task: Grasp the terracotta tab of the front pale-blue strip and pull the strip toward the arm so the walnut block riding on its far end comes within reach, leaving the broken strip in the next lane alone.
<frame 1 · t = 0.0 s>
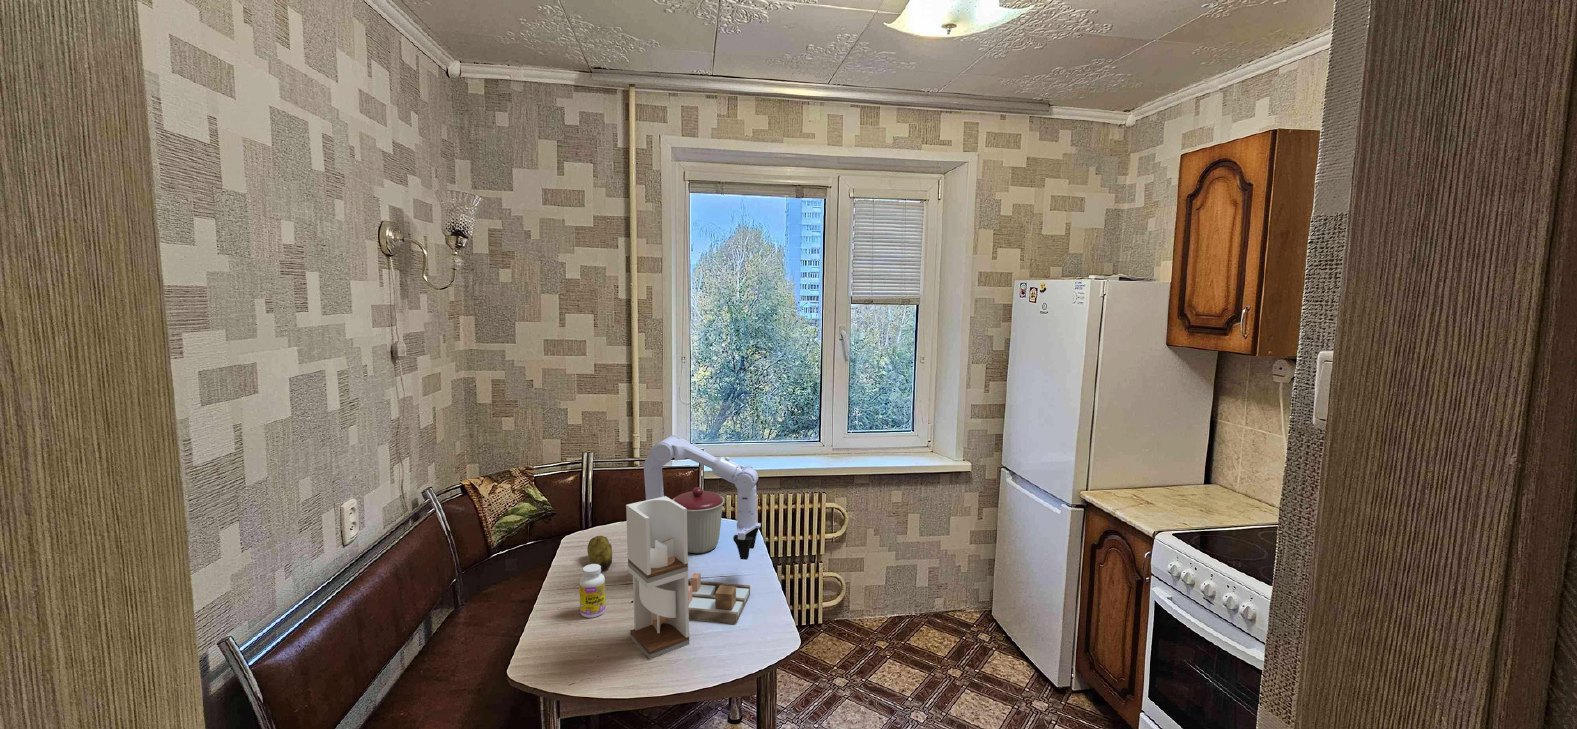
hand: (747, 553, 182), 10 cm above the table, fingers open, 7 cm apart
canister: (698, 547, 210), on the table
potato: (600, 564, 197), on the table
supplement bottle: (593, 613, 168), on the table
white tiered stand: (659, 641, 154), on the table
broken strip: (719, 599, 175), resting on lane board
walnut block: (725, 605, 167), point 2 cm above the table, touching strip front
lane board: (705, 605, 172), on the table
strip front: (711, 613, 168), resting on lane board, slide at 0.0 cm, touching walnut block
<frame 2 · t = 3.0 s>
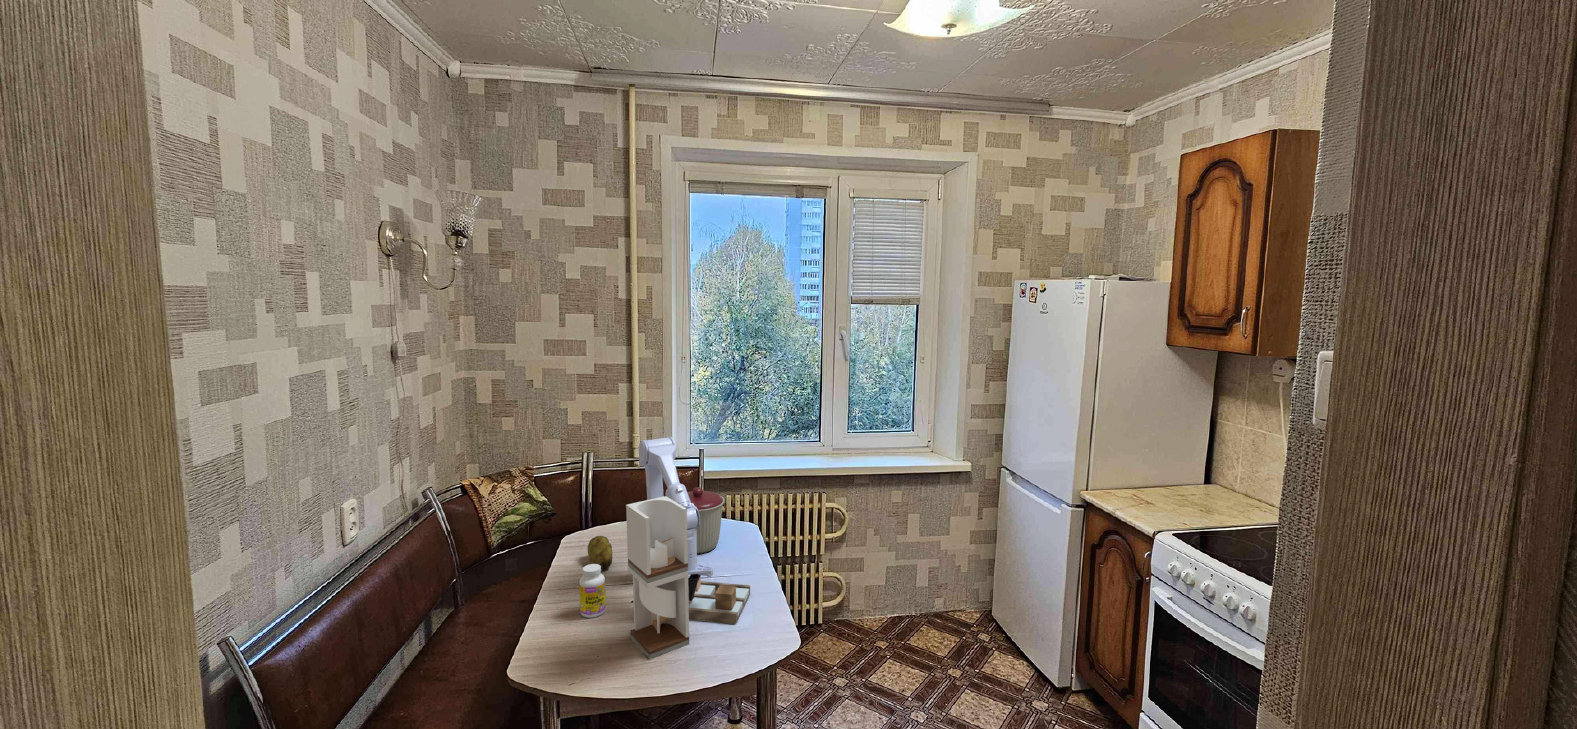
hand: (687, 599, 168), 3 cm above the table, fingers closed on strip front, 2 cm apart
strip front: (711, 613, 168), resting on lane board, slide at 0.0 cm, touching gripper, walnut block
everything else where it was.
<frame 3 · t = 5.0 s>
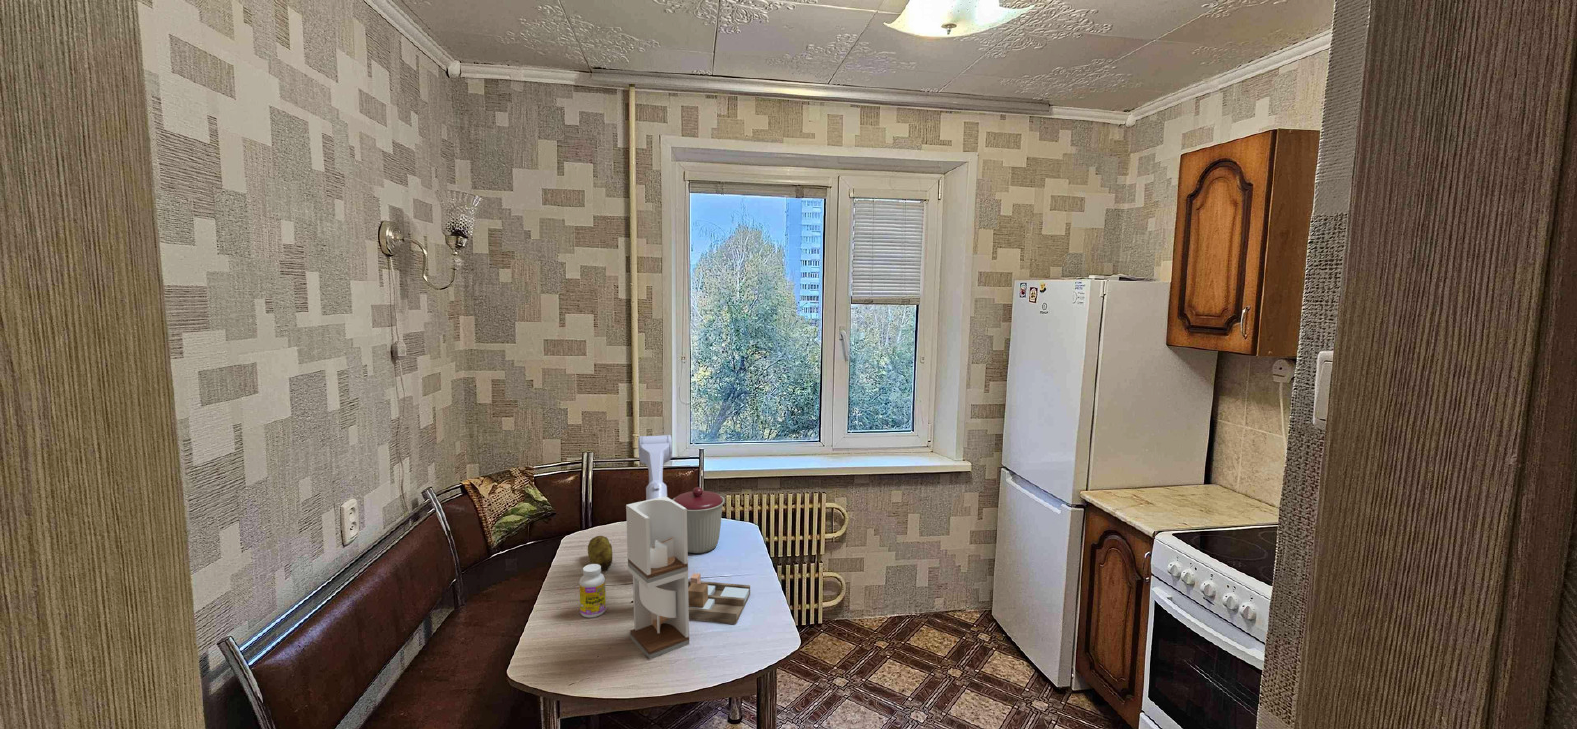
hand: (659, 596, 170), 3 cm above the table, fingers closed on strip front, 2 cm apart
walnut block: (697, 603, 168), point 2 cm above the table, touching strip front
strip front: (683, 610, 169), resting on lane board, slide at 8.0 cm, touching gripper, walnut block
everything else where it was.
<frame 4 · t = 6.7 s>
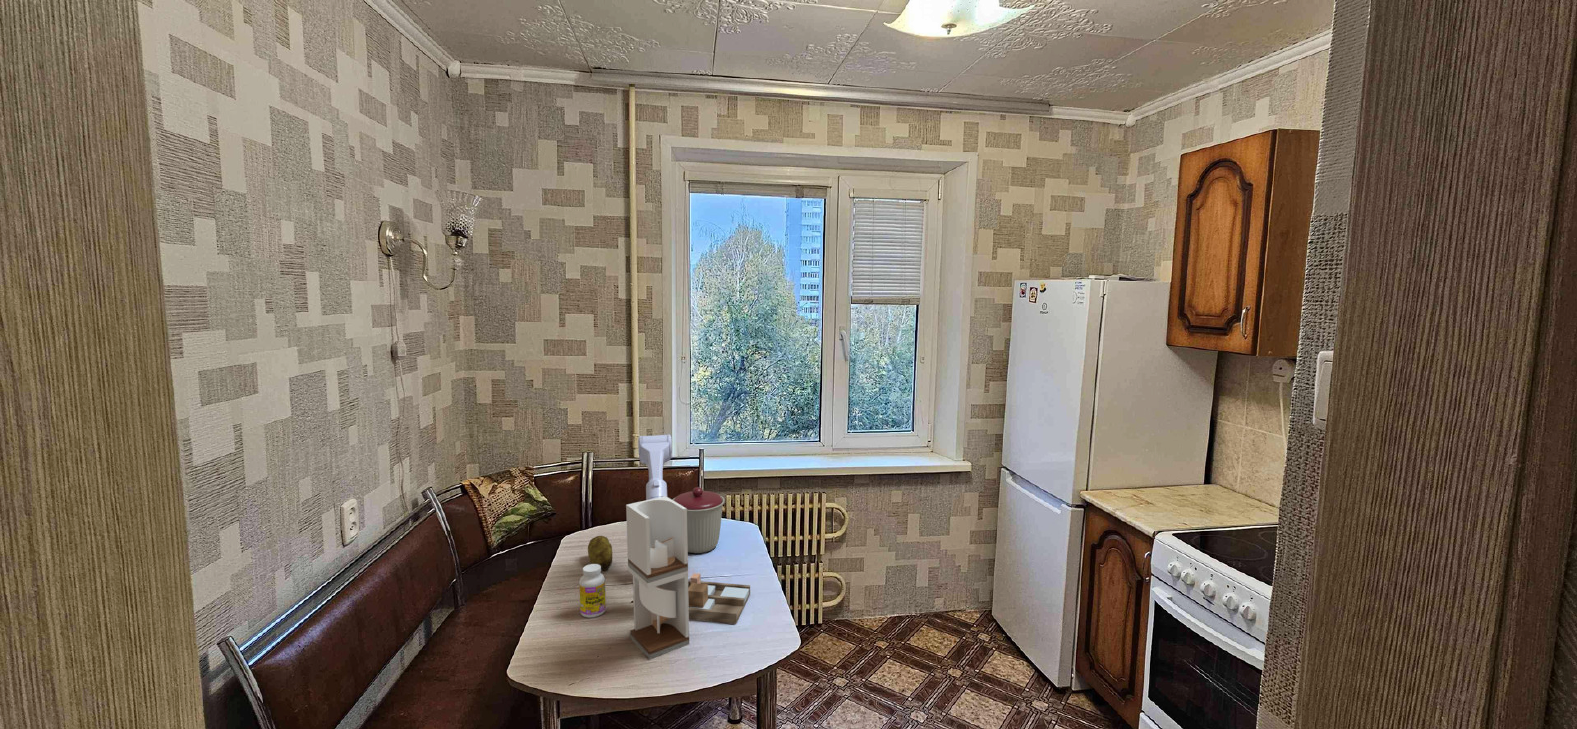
hand: (659, 593, 170), 4 cm above the table, fingers open, 7 cm apart
strip front: (683, 610, 169), resting on lane board, slide at 8.0 cm, touching walnut block
everything else where it was.
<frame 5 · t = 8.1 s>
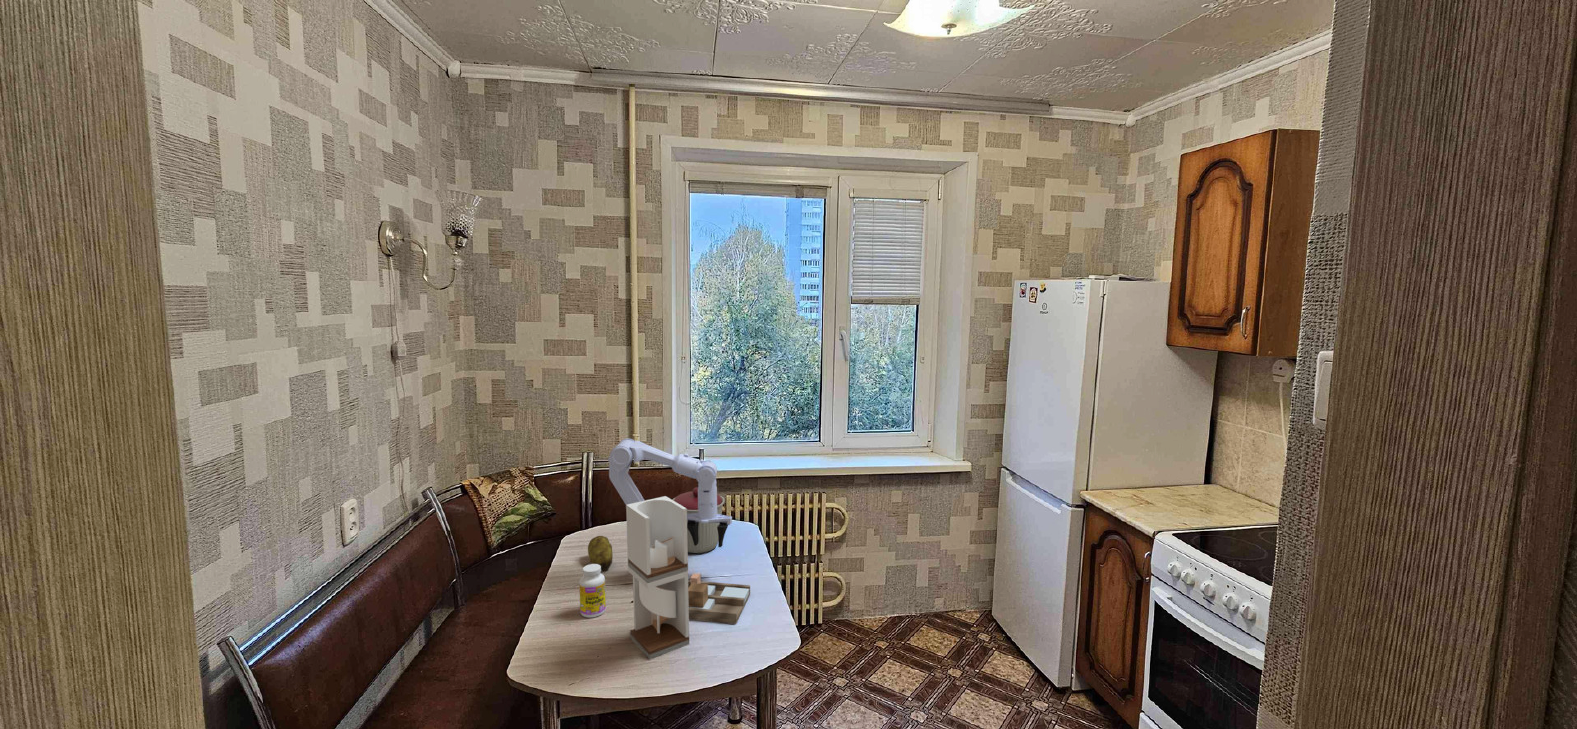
hand: (708, 545, 187), 10 cm above the table, fingers open, 7 cm apart
nothing on the table moved.
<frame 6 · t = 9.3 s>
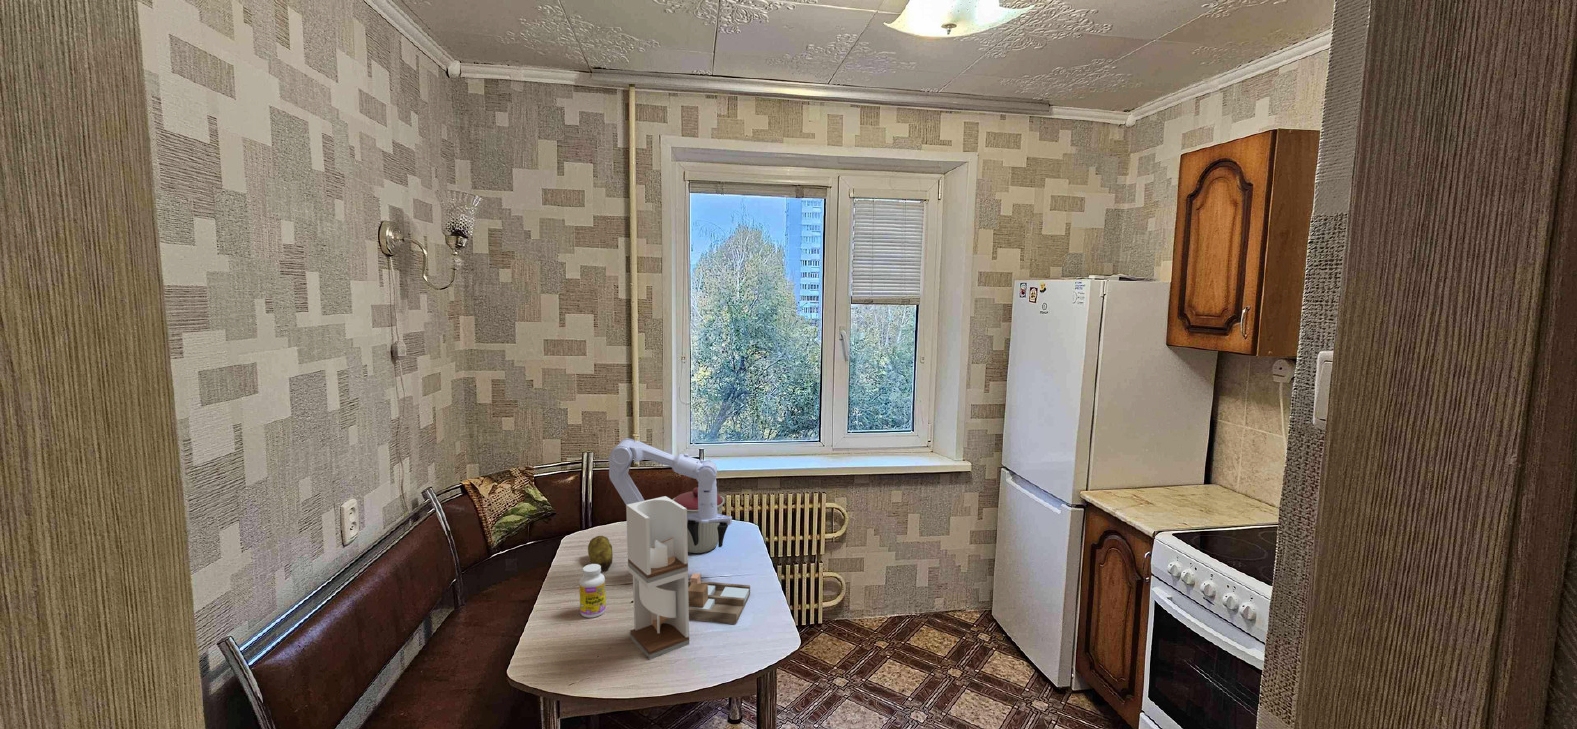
hand: (708, 545, 187), 10 cm above the table, fingers open, 7 cm apart
nothing on the table moved.
at the end: strip front slide at 8.0 cm; walnut block 0.5 cm from the target spot on the strip front, point 2.5 cm above the strip front's base; walnut block inside the target area (0.6 cm from its centre), point 2.5 cm above the table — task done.
